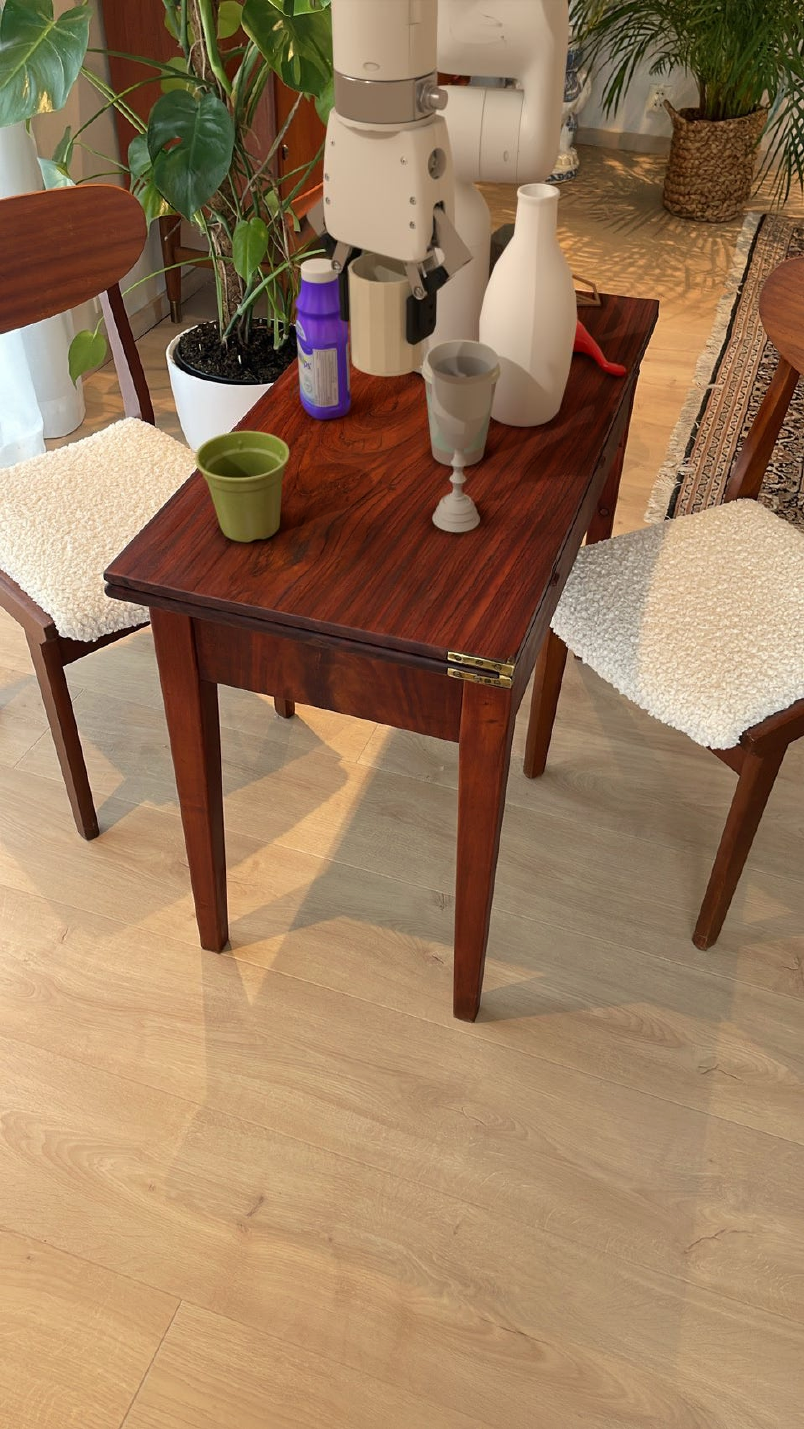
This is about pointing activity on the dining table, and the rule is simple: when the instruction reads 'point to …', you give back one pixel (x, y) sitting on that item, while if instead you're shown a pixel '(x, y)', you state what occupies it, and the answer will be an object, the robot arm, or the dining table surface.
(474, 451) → the coffee cup
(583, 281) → the emblem
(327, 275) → the bottle
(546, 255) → the bottle
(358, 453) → the dining table surface
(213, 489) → the plant pot
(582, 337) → the dinosaur
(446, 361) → the chalice
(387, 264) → the paper cup
